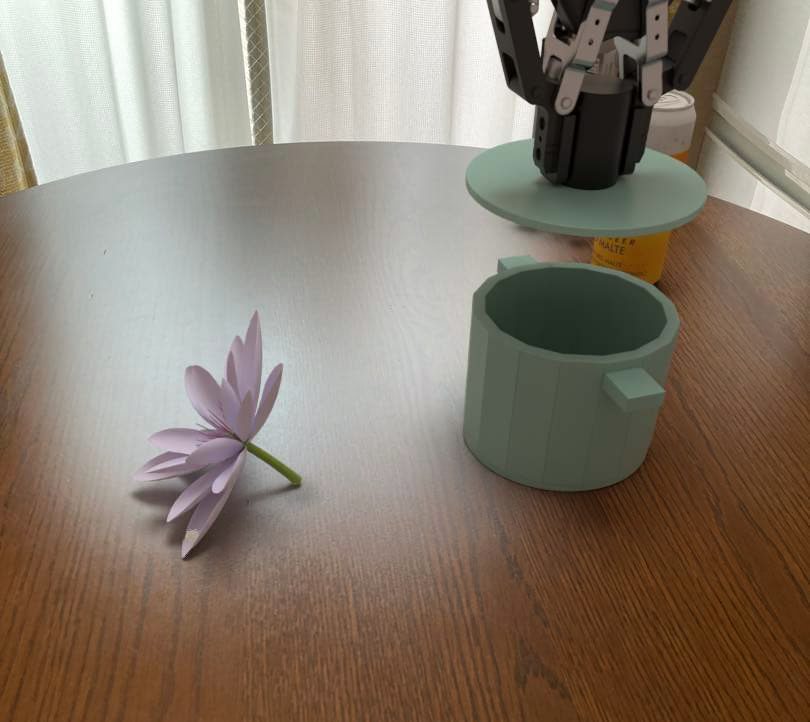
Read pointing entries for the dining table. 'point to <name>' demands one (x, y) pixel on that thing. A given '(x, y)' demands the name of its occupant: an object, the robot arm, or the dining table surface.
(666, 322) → the pot
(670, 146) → the beer can
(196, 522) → the water lily
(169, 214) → the dining table surface
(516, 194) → the lid
